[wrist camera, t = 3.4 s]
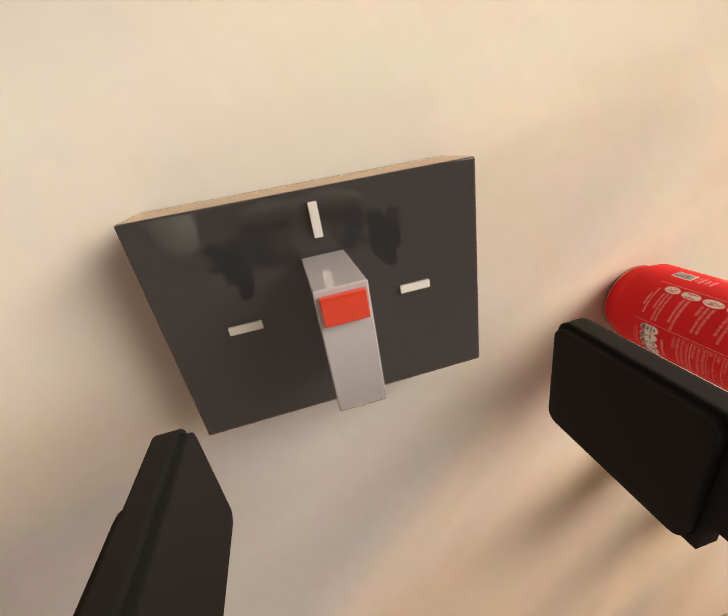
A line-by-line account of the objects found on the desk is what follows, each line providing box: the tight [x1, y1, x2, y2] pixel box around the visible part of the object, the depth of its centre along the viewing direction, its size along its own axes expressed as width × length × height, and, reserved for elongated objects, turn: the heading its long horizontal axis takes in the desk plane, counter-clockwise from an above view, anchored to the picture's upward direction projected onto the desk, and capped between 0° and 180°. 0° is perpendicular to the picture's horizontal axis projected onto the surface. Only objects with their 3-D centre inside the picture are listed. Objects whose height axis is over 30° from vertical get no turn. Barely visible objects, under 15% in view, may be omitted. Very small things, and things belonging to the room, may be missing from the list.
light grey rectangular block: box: [301, 250, 387, 411], centre depth 14 cm, size 5×2×4 cm, turn 9°
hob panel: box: [114, 156, 479, 435], centre depth 17 cm, size 14×10×3 cm
